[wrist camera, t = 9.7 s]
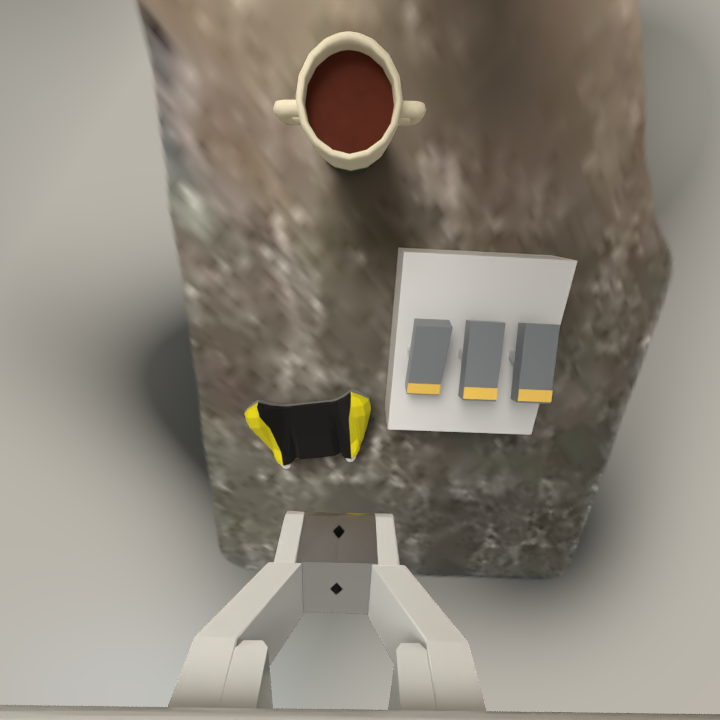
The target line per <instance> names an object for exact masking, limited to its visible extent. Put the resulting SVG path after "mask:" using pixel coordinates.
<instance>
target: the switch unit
mask: <svg viewBox="0 0 720 720" xmlns="http://www.w3.org/2000/svg"><path fill="white" fill-rule="evenodd" d="M576 265H577V260H572V259H567V258H563V257H558V256H553V255H538V254H518V253H499V252H479V251H459V250H439V249H420V248H400V247H398V259H397V270H396V282H395V294H394V306H393V317H392V329H391V341H390V352H389V364H388V376H387V388H386V399H385V413H386V420H387V427H388V429H392V430H419V431H446V432H473V433H499V434H526V435H531V433H532V430H533V426H534V422H535V418H536V415H537V411H538V407H539V403H517V402H515V401H514V400H512V399H510V398H511V389H512V379H513V370H514V361H515V351H516V342H517V332H518V323H540V324H558V325H561V321H562V317H563V313H564V310H565V306H566V302H567V298H568V295H569V291H570V287H571V283H572V280H573V276H574V272H575V268H576ZM414 318H418V319H440V320H450V323H451V325H452V327H453V329H452V334H451V339H450V343H449V348H448V353H447V358H446V363H445V367H444V372H443V377H442V382H441V388H440V393H439V395H417V394H406V389H405V380H406V373H407V366H408V359H409V353H410V346H411V339H412V332H413V325H414ZM466 320H482V321H500V322H505V323H506V324H505V332H504V340H503V348H502V356H501V364H500V372H499V380H498V392H497V400H496V402H493V401H468V400H462V399H461V398H460V397H459V396H458V392H459V383H460V373H461V363H462V354H463V344H464V334H465V324H466Z"/></svg>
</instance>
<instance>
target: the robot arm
mask: <svg viewBox="0 0 720 720" xmlns="http://www.w3.org/2000/svg"><path fill="white" fill-rule="evenodd" d="M303 613H347V614H348V613H349V614H367V615H368V617H369V619H370V620H371V623H372V624H373V626H374V628H375V630H376V632H377V634H378V635H379V637H380V639H381V641H382V643H383V645H384V646H385V648H386V650H387V652H388V654H389V656H390V658H391V659H392V661H393V663H394V670H393V677H392V685H391V692H390V700H389V707H388V710H353V709H352V710H350V709H347V710H346V709H273V704H272V691H271V679H270V667H269V666H270V665H271V663H272V662H273V660H274V659H275V657H276V656H277V654H278V653H279V651H280V650H281V648H282V647H283V645H284V643H285V642H286V641H287V639H288V638H289V636H290V635H291V633H292V632H293V630H294V629H295V627H296V626H297V624H298V623H299V621H300V620H301V618H302V617H303ZM0 720H720V714H648V713H647V714H645V713H572V712H571V713H570V712H496V711H494V712H492V711H486V708H485V704H484V700H483V697H482V692H481V689H480V685H479V681H478V677H477V673H476V670H475V666H474V662H473V658H472V654H471V650H470V647H469V643H468V642H467V640H466V639H465V638H464V637H463V635H462V634H461V633H460V632H459V630H458V629H457V628H456V627H455V626H454V624H453V623H452V622H451V621H450V620H449V618H448V617H447V616H446V615H445V614H444V612H443V611H442V610H441V609H440V607H439V606H438V605H437V604H436V602H435V601H434V600H433V599H432V598H431V596H430V595H429V594H428V593H427V591H426V590H425V589H424V588H423V587H422V585H421V584H420V583H419V582H418V581H417V579H416V578H415V577H414V576H413V574H412V573H411V572H410V571H409V569H408V568H407V567H406V566H405V565H400V563H399V555H398V547H397V539H396V531H395V523H394V516H393V515H392V514H376V513H375V514H374V513H325V512H306V511H305V512H299V511H287V513H286V515H285V518H284V522H283V526H282V530H281V535H280V539H279V543H278V547H277V551H276V556H275V560H274V562H268V563H267V564H266V565H265V566H264V567H263V568H262V569H261V570H260V571H259V572H258V573H257V574H256V575H255V577H253V578H252V579H251V581H249V582H248V583H247V584H246V586H245V587H244V588H243V589H242V590H241V591H240V592H239V593H238V594H237V595H236V596H235V597H234V598H233V599H232V600H231V601H230V602H229V603H228V604H227V605H226V606H225V607H224V608H223V609H222V610H221V611H220V612H219V613H218V614H217V615H216V616H215V617H214V618H213V619H212V620H211V621H210V622H209V623H208V624H207V625H206V626H205V627H204V628H203V629H202V630H201V631H200V632H199V633H198V634H197V635H196V636H195V637H194V640H193V643H192V645H191V648H190V651H189V653H188V656H187V658H186V661H185V664H184V666H183V669H182V671H181V674H180V676H179V679H178V682H177V684H176V687H175V689H174V692H173V695H172V697H171V700H170V702H169V705H168V707H118V706H116V707H115V706H41V705H40V706H38V705H36V706H35V705H34V706H33V705H0Z"/></svg>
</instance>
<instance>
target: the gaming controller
mask: <svg viewBox="0 0 720 720" xmlns="http://www.w3.org/2000/svg"><path fill="white" fill-rule="evenodd" d="M370 412H371V402H370V397H369V396H367V395H365V394H363V393H361V392H359V391H357V390H354V389H351V390H349V391H348V392H346V393H345V394H343V395H342V396H340V397H338V398H336V399H332V400H324V401H315V402H306V403H297V404H280V403H274V402H269V401H263V400H257V401H255V402H253V403H252V404H251V405H250V406H249V407H248V408H247V409H246V410H245V418H246V421H247V424H248V425H249V427H250V428H251V429H252V430H253V431H254V432H255V433H256V434H257V435H258V436H259V437H260V438H261V439H262V441H263V442H264V443H265V444H266V445H267V446H268V447H269V448H270V449H271V450H272V451H273V452H274V456H275V459H276V460H277V462H278V463H279V464H280V465H281V466H282V467H283V468H284V469H287V468H290V465H291V463H292V462H293V461H294V459H307V458H317V457H326V456H334V455H337V454H342V455H343V456H344V457H345V458H346V460H347V461H348V462H353V461H354V460H355V458H356V455H357V453H358V451H359V450H360V446H361V443H362V441H363V438H364V435H365V431H366V428H367V424H368V420H369V416H370Z"/></svg>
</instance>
